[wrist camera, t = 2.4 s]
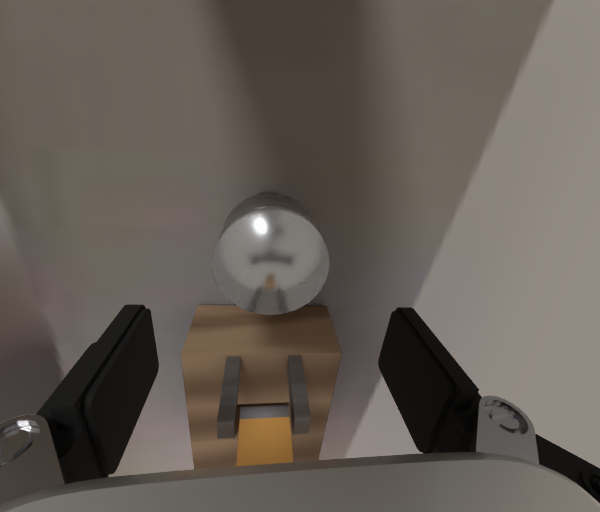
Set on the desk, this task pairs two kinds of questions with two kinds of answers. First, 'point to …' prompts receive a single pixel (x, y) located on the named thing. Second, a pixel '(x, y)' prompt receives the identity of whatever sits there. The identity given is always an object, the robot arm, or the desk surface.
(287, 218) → the silver rounded cylinder
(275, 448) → the bar
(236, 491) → the robot arm
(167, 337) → the desk surface
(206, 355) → the hitch block
